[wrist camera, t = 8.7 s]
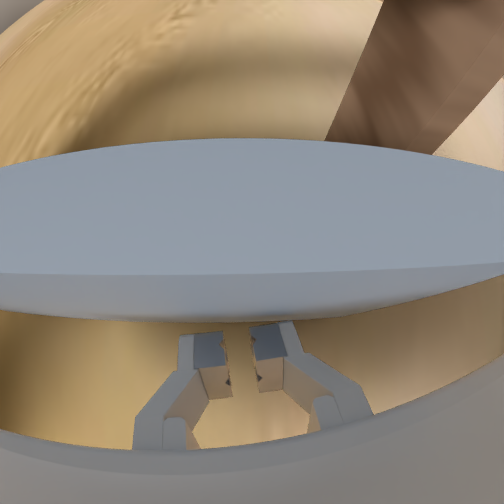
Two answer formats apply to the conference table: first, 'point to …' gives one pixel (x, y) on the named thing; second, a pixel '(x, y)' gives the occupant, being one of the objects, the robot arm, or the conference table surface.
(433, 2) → the brown wooden frame
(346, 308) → the door
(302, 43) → the conference table surface
